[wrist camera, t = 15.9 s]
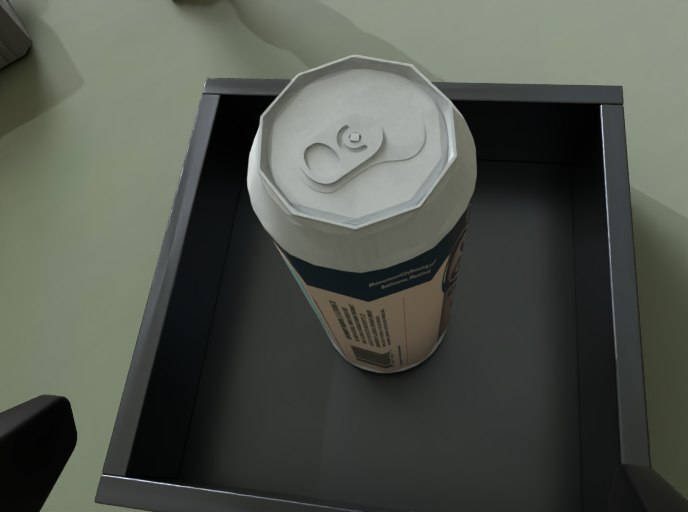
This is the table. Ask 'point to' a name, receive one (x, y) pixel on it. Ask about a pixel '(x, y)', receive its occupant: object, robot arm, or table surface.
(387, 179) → the beer can
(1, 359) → the table surface
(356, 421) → the tray
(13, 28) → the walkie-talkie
